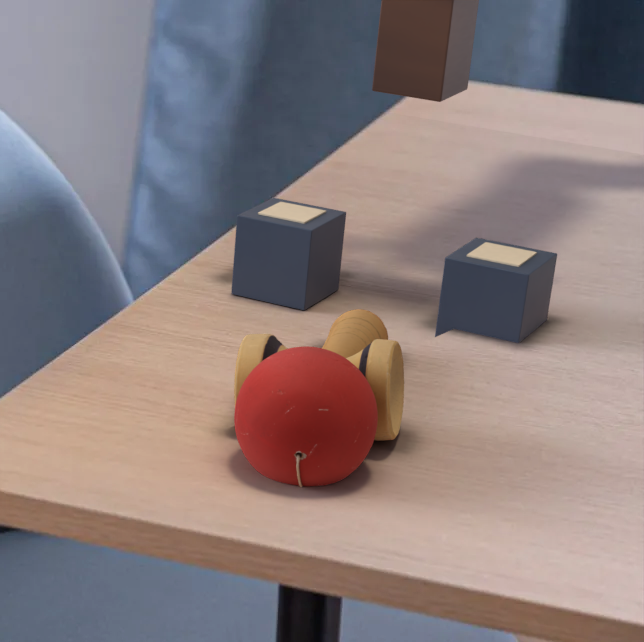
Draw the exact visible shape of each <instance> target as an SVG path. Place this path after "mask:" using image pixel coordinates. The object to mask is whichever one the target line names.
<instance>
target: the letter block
mask: <svg viewBox="0 0 644 642" xmlns="http://www.w3.org/2000/svg"><path fill="white" fill-rule="evenodd" d="M479 3H480V0H381V2H380V12H379V20H378V30H377V39H376V48H375V58H374V67H373V77H372V86H371V90H372V91H373V92H377V93H383V94H388V95H389V94H390V95H393V96H394V95H395V96H401V97H408V98H413V99H418V100H425V101H431V102H436V103H441V102H444V101H445V100H448V99H450V98H452V97H453V96H456V95H459V94H461V93H462V92H464V91H467V90H468V87H469V82H470V73H471V72H470V71H471V66H472V65H471V64H472V56H473V51H474V50H473V49H474V43H475V42H474V41H475V35H476V34H475V33H476V27H477V18H478V12H479V11H478V10H479V5H480V4H479Z"/></svg>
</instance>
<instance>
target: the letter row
mask: <svg viewBox="0 0 644 642" xmlns="http://www.w3.org/2000/svg"><path fill="white" fill-rule="evenodd" d="M346 221H347V211H345V210H338V209H333V208H329V207H323V206H320V205H319V206H317V205H313V204H308V203H303V202H298V201H293V200H288V199H284V198H283V199H282V198H277V197H272V198H270V199H268V200H265V201H264V202H262V203H260V204H257V205H256V206H254V207H251V208H249V209H247V210H245V211H243V212H241V213H239V214H237V215H236V226H235V240H234V252H233V264H232V265H233V266H232V279H231V293H230V294H231V295H234V296H239V297H243V298H247V299H248V298H249V299H252V300H256V301H261V302H265V303H269V304H273V305H279V306H283V307H287V308H292V309H296V310H299V311H306V310H307V309H309V308H311V307H312V306H314V305H315V304H318V303H319V302H321V301H322V300H323V299H325V298H327V297H329V296H330V295H332V294H334V293H335V292H337V291H338V290H339V287H340V278H341V270H342V269H341V266H342V259H343V250H344V240H345V229H346ZM557 258H558V253H557V252H552V251H547V250H542V249H537V248H532V247H526V246H521V245H516V244H512V243H506V242H501V241H496V240H491V239H486V238H480V237H474V238H473V239H471V240H470V241H469V242H467V243H465V244H464V245H462V246H461V247H459V248H457V249H456V250H455V251H453V252H452V253H450V254H448V255H447V256H445V258H444V263H443V272H442V277H441V278H442V280H441V285H440V293H439V294H440V295H439V301H438V309H437V317H436V326H435V333H434V338H437V337H439V336H441V335H444V334H446V333H448V332H450V331H453V330H457V331H463V332H466V333H472V334H475V335H481V336H484V337H489V338H494V339H497V340H502V341H507V342H512V343H516V344H520V343H521V342H522V341H523V340H525V339H526V338H527V337H528V336H529V335H531V334H532V333H533V332H534V331H535V330H537V329H538V328H539V327H541V326H542V325H543V324H544V323H545V322H547V321H548V315H549V309H550V305H551V296H552V291H553V285H554V279H555V278H554V277H555V272H556V266H557Z"/></svg>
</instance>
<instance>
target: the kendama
mask: <svg viewBox="0 0 644 642" xmlns="http://www.w3.org/2000/svg"><path fill="white" fill-rule="evenodd" d="M404 366H405V365H404V357H403V351H402V346H401V344H400V343H399V341H397V340H394V339H389V333H388V329H387V328H386V325H385V323H384V321H383V320H382V319H381V318H380V316H378V315H377V314H375V313H374V312H372V311H370V310H367V309H362V308H358V309H357V308H355V309H352V310H347V311H346V312H343V313H342V314H341V315H339V316H338V317H336V319H335V320H334V322H333V323H332V325H331V327H330V329H329V332H328V335H327V337H326V340H325V342H324V343H323V345H322V347H318V346H310V345H309V346H306V345H305V346H304V345H303V346H294V347H289V348H288V347H286V346H285V345H284V344H283V343H282V342H281V341H280V340H279V339H278V338H277V336H275V335H274V334H272V333H249V334H246V335H245V336H244V337H243V339H242V340H241V342H240V345H239V347H238V351H237V355H236V360H235V368H234V369H235V370H234V383H233V384H234V386H233V393H234V394H233V399H234V414H233V415H234V416H233V417H234V418H233V421H234V431H235V435H236V440H237V442H238V445H239V447H240V450H241V451H242V453H243V455H244V457H245V459H246V460H247V461H248V463H249V464H250V465H251V466H252V468H254V469H255V470H256V472H258V473H259V474H260V475H262V476H263V477H266V478H267V479H270V480H272V481H275V482H277V483H281V484H287V485H292V486H298V487H300V488H303V487H320V486H321V487H322V486H327V485H333V484H335V483H338V482H341V481H342V480H344V479H346V478H347V477H349V476H350V475H352V473H353V472H354V471H356V470H357V469H358V468H359V467H360V466H361V464H362V463H363V462H364V461H365V459H366V458H367V456H368V455H369V452H370V451H371V448H372V447H373V444H374V442H375V441H393V440H395V439H396V437H397V436H398V435H399V433H400V429H401V425H402V419H403V414H404V413H403V412H404V402H405V401H404V400H405V399H404V398H405V367H404Z"/></svg>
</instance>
